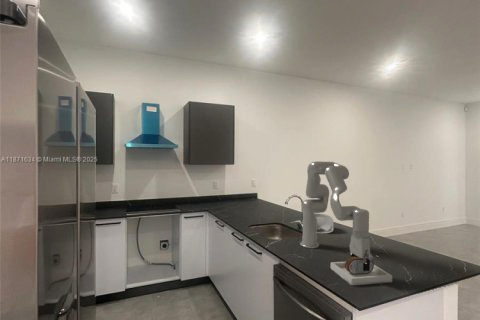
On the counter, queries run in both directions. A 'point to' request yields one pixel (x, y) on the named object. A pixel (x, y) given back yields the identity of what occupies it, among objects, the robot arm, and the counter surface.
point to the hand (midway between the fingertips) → (359, 266)
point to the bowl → (324, 223)
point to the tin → (357, 265)
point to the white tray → (361, 275)
